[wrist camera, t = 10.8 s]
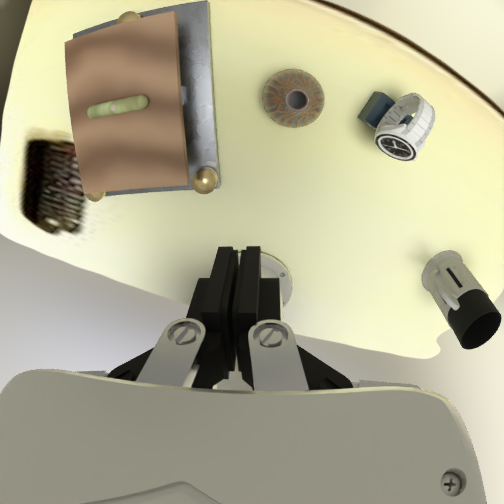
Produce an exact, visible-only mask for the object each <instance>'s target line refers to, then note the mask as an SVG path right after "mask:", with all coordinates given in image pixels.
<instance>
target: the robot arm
mask: <svg viewBox="0 0 504 504" xmlns="http://www.w3.org/2000/svg"><path fill="white" fill-rule="evenodd" d="M291 292H292V281H291V276H290V274H289V272H288V270H287V269H286V267H285V266H284V265H283V264H282V263H281V262H280V261H279V260H277V259H276V258H274V257H272V256H270V255H267V254H265V253H261V249H260V246H247V248H246V250H241V252H240V253H238V250H233V247H218V251H217V254H216V258H215V261H214V265H213V268H212V272H211V276H210V278H199V279H198V282H197V285H196V288H195V291H194V294H193V297H192V300H191V304H190V307H189V310H188V313H187V316H186V318H183V319H178V320H176V321H174V322H172V323H170V324H169V325H168V326H167V327H166V328H165V330H164V331H163V333H162V335H161V337H160V338H159V340H158V342H157V344H156V346H155V347H154V348H152V349H150V350H148V351H147V352H145V353H143V354H141V355H139V356H137V357H135V358H133V359H132V360H130V361H128V362H126V363H124V364H122V365H120V366H118V367H117V368H115V369H114V370H112V371H111V372H110V373H109V374H107V372H106V371H87V372H86V371H85V372H72V371H65V370H55V369H37V370H30V371H26V372H23V373H20V374H18V375H16V376H15V377H13V378H12V379H11V380H10V381H9V382H8V384H7V385H6V386H5V388H4V389H3V390H2V392H1V394H0V504H487V502H486V496H485V492H484V487H483V482H482V477H481V473H480V469H479V465H478V461H477V458H476V454H475V451H474V448H473V445H472V442H471V439H470V436H469V434H468V431H467V429H466V426H465V424H464V422H463V420H462V418H461V416H460V414H459V412H458V411H457V409H456V408H455V407H454V405H453V404H452V403H451V402H450V401H449V400H448V399H447V398H445V397H443V396H442V395H439V394H437V393H434V392H431V391H428V390H422V389H421V388H419V387H418V386H415V385H411V384H400V383H386V382H375V381H364V380H360V381H359V383H354V382H350V380H349V379H348V378H346V377H345V376H344V375H342V374H341V373H339V372H338V371H336V370H334V369H333V368H331V367H330V366H328V365H327V364H325V363H324V362H322V361H321V360H319V359H318V358H316V357H314V356H313V355H312V354H310V353H308V352H307V351H305V350H304V349H302V348H301V347H299V346H298V345H296V341H295V338H294V334H293V331H292V329H291V327H290V326H288V325H287V324H286V323H284V322H283V307H284V306H285V305H286V304H287V302H288V301H289V298H290V296H291Z"/></svg>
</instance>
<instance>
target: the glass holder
mask: <svg viewBox="0 0 504 504" xmlns="http://www.w3.org/2000/svg"><path fill="white" fill-rule="evenodd" d="M422 284H423V286H424V288H425V289H426V290H427V291H429V292H430V293H431V295H432V296H433V298H434V300H435V301H436V303H437V305H438V306H439V308H440V310H441V312H442V313H443V315H444V317H445V319H446V320H447V322H448V324H449V326H450V327H451V328H452V329H453V331H454V333H455V335H456V336H457V338H458V340H459V342H460V344H461V346H462V347H463V348H464V349H474V348H477V347H479V346H481V345H482V344H484V343H485V342H487V341H488V340H489V339H490V338H491V337H492V336H493V335H494V333H496V331H497V330H498V328H499V326H500V323H501V314H500V313H499V312H498V310H497V309H496V307H495V306H494V304H493V303H492V302H491V300H490V299H489V297H488V294H487V293H486V292H485V290H484V289H483V288H482V286H481V285H480V284H479V282H478V281H477V280H476V278H475V277H474V276H473V275H472V273H471V272H470V271H469V270H468V268H467V267H466V266H465V265H464V264H463V261H462V258H461V256H460V255H459V254H458V253H457V252H455V251H443V252H441V253H439V254H437V255H436V256H434V257H433V258H432V259H431V260H430V261H429V262H428V263H427V265H426V266H425V268H424V271H423V274H422Z"/></svg>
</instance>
